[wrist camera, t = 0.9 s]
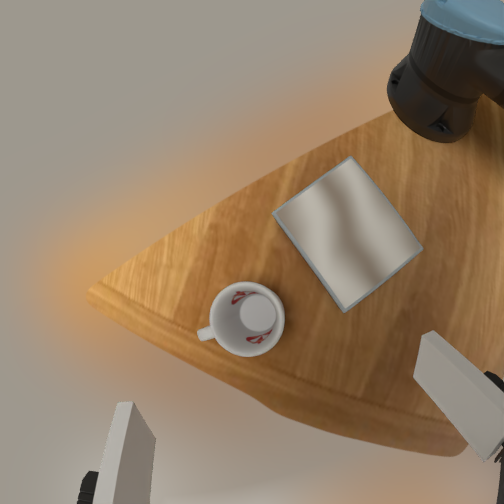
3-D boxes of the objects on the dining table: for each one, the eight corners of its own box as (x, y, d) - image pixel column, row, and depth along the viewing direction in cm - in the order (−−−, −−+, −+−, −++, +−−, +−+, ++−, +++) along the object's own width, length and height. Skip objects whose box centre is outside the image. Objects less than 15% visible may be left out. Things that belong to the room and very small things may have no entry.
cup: (224, 356, 37) (202, 373, 30) (202, 302, 39) (176, 306, 31) (299, 329, 36) (295, 342, 28) (276, 272, 37) (266, 269, 29)
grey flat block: (347, 169, 36) (351, 153, 32) (411, 253, 34) (424, 248, 29) (276, 221, 38) (270, 212, 33) (340, 309, 35) (344, 313, 30)
